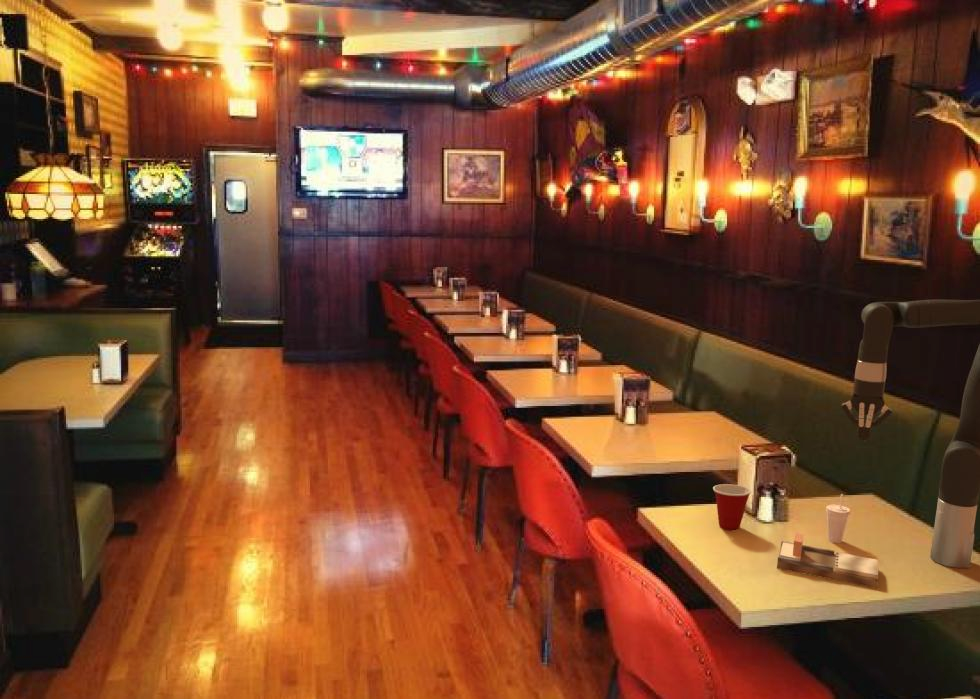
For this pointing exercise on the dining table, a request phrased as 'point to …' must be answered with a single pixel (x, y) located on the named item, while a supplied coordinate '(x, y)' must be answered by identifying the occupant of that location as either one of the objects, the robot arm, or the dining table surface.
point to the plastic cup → (731, 504)
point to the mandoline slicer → (832, 565)
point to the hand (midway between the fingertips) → (862, 439)
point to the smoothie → (836, 521)
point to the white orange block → (793, 548)
